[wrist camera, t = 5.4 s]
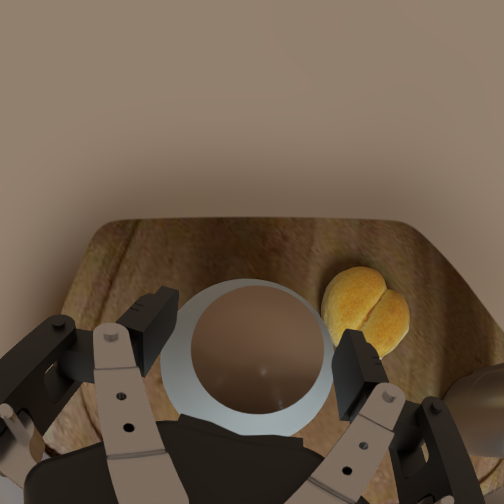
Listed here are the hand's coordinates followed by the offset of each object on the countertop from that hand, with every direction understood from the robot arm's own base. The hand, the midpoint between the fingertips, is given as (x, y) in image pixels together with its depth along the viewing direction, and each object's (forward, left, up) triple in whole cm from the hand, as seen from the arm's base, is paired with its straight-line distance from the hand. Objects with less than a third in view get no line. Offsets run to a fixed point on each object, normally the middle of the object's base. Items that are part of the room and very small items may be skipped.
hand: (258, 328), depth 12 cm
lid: (+1, +1, -4) cm, 4 cm away
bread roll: (-11, +3, -13) cm, 17 cm away
